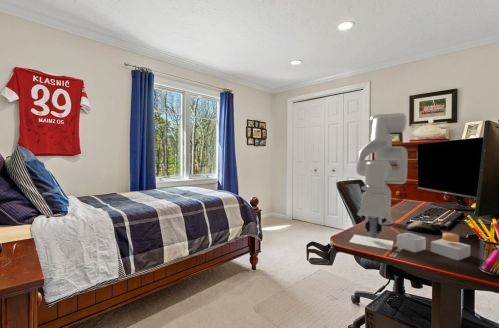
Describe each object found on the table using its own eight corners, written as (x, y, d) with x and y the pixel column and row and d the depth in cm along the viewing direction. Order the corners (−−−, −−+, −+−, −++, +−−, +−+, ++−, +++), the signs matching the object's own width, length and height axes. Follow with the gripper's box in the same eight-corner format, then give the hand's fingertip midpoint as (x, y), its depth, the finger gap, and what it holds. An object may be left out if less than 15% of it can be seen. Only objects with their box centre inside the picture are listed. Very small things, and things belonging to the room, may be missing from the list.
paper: (348, 242, 109) (348, 241, 109) (354, 234, 119) (354, 234, 119) (391, 250, 100) (391, 249, 100) (393, 241, 110) (393, 241, 110)
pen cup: (396, 246, 104) (397, 234, 104) (407, 244, 108) (407, 232, 107) (414, 253, 98) (415, 240, 98) (425, 250, 101) (425, 237, 101)
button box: (430, 251, 99) (430, 241, 99) (442, 248, 103) (443, 238, 103) (457, 260, 91) (458, 249, 91) (470, 256, 96) (470, 245, 95)
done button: (439, 238, 98) (439, 233, 98) (446, 236, 101) (446, 231, 100) (454, 242, 94) (455, 237, 94) (461, 240, 96) (461, 235, 96)
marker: (366, 235, 111) (367, 211, 111) (372, 234, 113) (373, 210, 112) (374, 238, 108) (374, 213, 107) (379, 237, 110) (380, 212, 109)
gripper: (352, 189, 111) (351, 230, 112) (396, 193, 102) (394, 238, 103) (355, 187, 117) (354, 226, 118) (397, 190, 108) (395, 232, 109)
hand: (373, 231), depth 110 cm, fingers closed on marker, 3 cm apart
